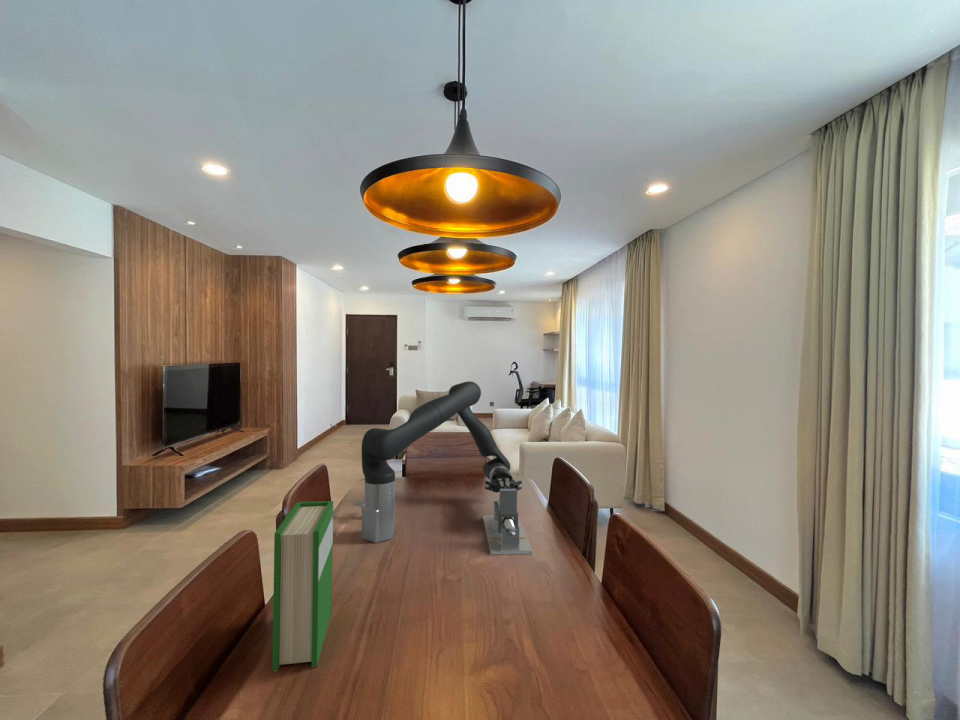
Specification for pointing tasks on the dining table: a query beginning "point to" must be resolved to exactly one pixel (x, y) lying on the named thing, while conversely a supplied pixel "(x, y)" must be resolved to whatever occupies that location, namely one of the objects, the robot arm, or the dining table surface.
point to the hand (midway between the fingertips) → (506, 492)
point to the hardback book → (302, 583)
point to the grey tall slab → (507, 506)
